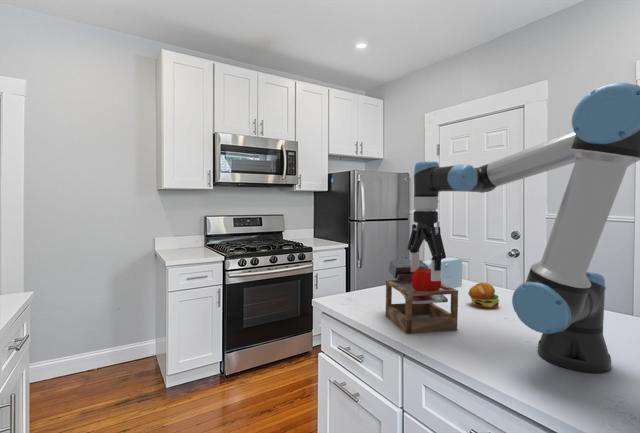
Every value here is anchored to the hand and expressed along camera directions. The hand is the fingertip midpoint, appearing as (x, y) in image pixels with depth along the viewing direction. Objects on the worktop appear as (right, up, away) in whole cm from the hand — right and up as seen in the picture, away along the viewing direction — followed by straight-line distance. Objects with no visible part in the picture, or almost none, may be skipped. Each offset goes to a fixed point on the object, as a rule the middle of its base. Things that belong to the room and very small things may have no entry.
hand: (424, 276), depth 110 cm
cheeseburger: (+30, -16, +22) cm, 40 cm away
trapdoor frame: (-1, -16, +4) cm, 16 cm away
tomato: (0, -6, 0) cm, 6 cm away
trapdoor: (-1, -5, +6) cm, 8 cm away
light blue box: (+23, -15, +49) cm, 56 cm away
